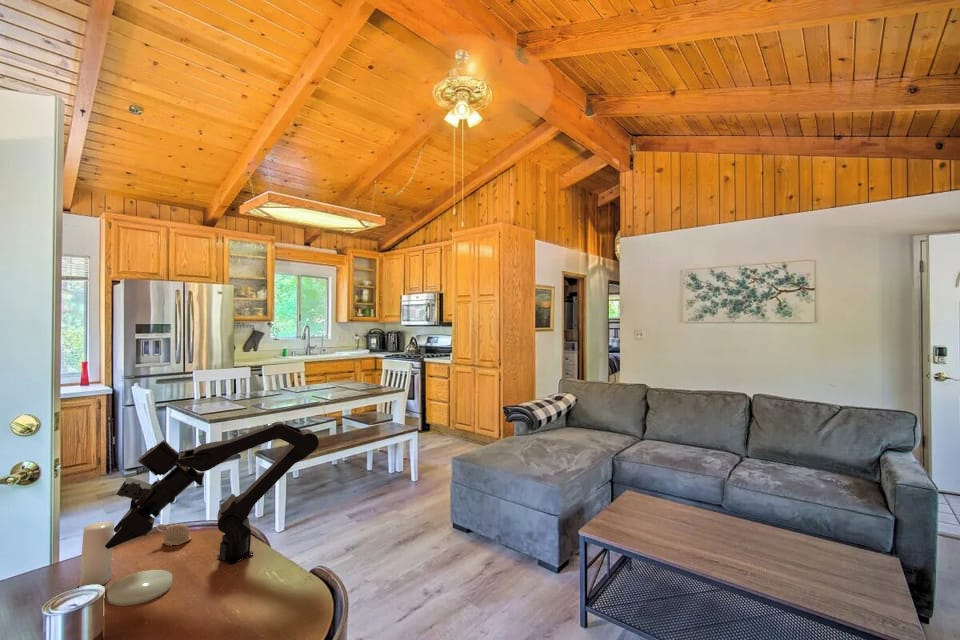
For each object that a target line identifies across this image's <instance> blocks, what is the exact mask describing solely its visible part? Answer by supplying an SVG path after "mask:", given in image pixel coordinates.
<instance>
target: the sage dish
mask: <svg viewBox="0 0 960 640" xmlns="http://www.w3.org/2000/svg"><path fill="white" fill-rule="evenodd" d="M172 585H173V574H172V572H171V571H167V570H165V569H148V570H143V571H138V572H134V573H131V574H128V575H126V576H124V577H121V578H119V579H118V580H116V581H115V582H113V583H112V584H111V585H109V587H108V588H107V590H106V591H107V592H106V601H107V602H108V604H111V605H113V606H117V607H119V606H121V607H124V606H125V607H126V606H133V605H138V604H143V603H146V602H149V601H152V600H154V599H157V598H158V597H161V596H162V595H163V594H165V593H166V592H167V591H169V589H171V587H172Z"/></svg>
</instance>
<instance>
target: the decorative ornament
mask: <svg viewBox="0 0 960 640" xmlns="http://www.w3.org/2000/svg"><path fill="white" fill-rule="evenodd" d="M159 527H163V528H165V530H162V529H160V528H159ZM155 530H157V532H159V533H161V534H163V541H162V543H163V544H164V545H166V546H169V545H170V547H172V545H177V546H180V545H182V544H185V543H186V542H189V541H191V540H192V539H193V537H191V536H190V529H189V527H188V526H187V525H185V524H183V523H175V525H173V524H170V525H169V526H168V525H167V524H160V523H159V524H158V525H156V527H155Z"/></svg>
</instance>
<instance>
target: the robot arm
mask: <svg viewBox="0 0 960 640" xmlns="http://www.w3.org/2000/svg"><path fill="white" fill-rule="evenodd" d="M277 439H278V440H281V441H284V442H285V443H287V444H288V445H287V447H286V449H284V450H285V451H284V452H283V453H282V454H281V455H280V456H279V457H278V458H277V460H275V461H274V462H273V463H272V464H271V465H270V466H269V467H268V468H267V469H266V470H265V471H263V473H262V474H261V475H260V476H259V477H258V478H257V479H255V481H254V482H253V483H252V484H250V485H249V487H248V488H246V490H244V492H242V493H241V494H239V495H237V496H236V495H235V494H234V493H231V495H230V496H228V498H227V500H225V501H224V502H223V503H221V504H220V505H219V507H220V509H219V510H218V511H217V515H216V516H217V528H218V531H220V532H221V533H222V534H223V535H222V536H221V537H222V538H221V542H220V544H219V553H218V555H217V556H216V558H217V557H218V558H217V559H219V558H220V559H219V560H221V559H222V560H221V561H223V560H224V562H225V561H226V562H225V563H227V562H228V564H229V563H231V564H230V565H233V564H235V563H234V562H236V561H238V560H240V559H242V558H244V557H247V556H249V555H251V554H253V553H255V552H253V551H252V550H251V542H252V541H251V540H252V528H251V525H250V518H249V515H250V513H251V512H252V510H253V508H254V506H256V504H257V503H258V502H259V501H260V499H262V498H263V496H265V495H266V494H267V493H268V491H270V489H272V487H274V485H275V484H276V483H277V482H278V481H280V480H281V478H282V477H283V476H284V475H285V474H287V473H288V472H289V470H290V469H291V468H292V467H293V466H294V465H295V464H296V463H299V462H300V461H303V460H304V459H306V458H307V457H308V456H310V455H312V453H314V452H315V451H316V450H317V449H318V448H319V438H318V437H317V435H316V434H315V433H314V432H313V431H312V430H311V429H309V428H303V429H299V428H298V427H295V426H292V425H289V424H286V423H284V422H282V421H278V420H277V421H275V422H272V424H269V425H267V426H264V427H260V428H259V429H255V430H252V431H250V432H247V433H244V434H241V435H239V436H236V437H232V438H231V439H226V440H219V441H212V442H207V443H203V444H199V445H198V446H196V447H195V448H193V449H187V450H183V451H177V450H176V449H174V447H172V446H171V445H170V444H169V443H168V441H166V440H164V439H163V440H162V441H160V442H159V443H157V444H156V445H154V446H152V447H150V448H149V449H148V450H147V451H145V453H143V454H142V456H140V457H139V458H138V459H137V462H138V463H139V464H140V465H142V466H143V468H146V469H147V470H148V471H149V472H150V473H152V474H153V475H154V476H158V475H159V476H164V477H162V479H161V480H155V481H154V482H152V484H151V483H149V482H146V481H143V480H140V479H136V478H134V477H131V476H130V477H129V476H128V477H127V476H126V477H125V480H124V481H123V483H122V484H121V486H120V487H119V489H118V491H117V493H116V495H117V496H119V497H122V498H124V497H125V498H128V499H131V500H130V504H129V505H130V507H129V509H128V511H127V512H126V513H125V514H124V515H123V517H122V518H121V519H120V520H119V521H118V523H117V524H115V526H114V536H113V537H112V538H111V539H110V540H109V541H108V543H107V544H106V545H105V547H106V548H107V549H110V548H112V547H113V548H114V547H117V546H119V545H122V544H124V543H126V542H129V541H132V540H134V539H136V538H139V537H146V536H147V535H148V534H149V533H150V532H151V531H153V528H154V524H155V518H157V517H159V515H160V514H161V511H163V510H164V508H166V507H167V506H168V505H169V504H173V503H174V502H175V501H176V498H177V497H178V496H179V495H180V494H182V493H183V492H184V491H185V490H186V489H187V488H188V487H190V486H191V484H193V483H194V482H195V483H196V484H197V485H199V486H200V487H201V486H202V485H203V483H204V482H203V481H204V476H205V472H207V471H209V470H212V469H213V468H215V467H217V466H219V465H221V464H222V463H224V462H225V461H226V460H228V459H229V458H231V457H232V456H235V455H237V454H240V453H242V452H246V451H248V450H250V449H253V448H256V447H259V446H261V445H263V444H266V443H268V442H272V441H274V440H277ZM154 517H155V518H154ZM253 555H254V554H253ZM251 556H252V555H251ZM249 557H250V556H249ZM247 558H248V557H247ZM242 560H243V559H242ZM240 561H241V560H240ZM238 562H239V561H238ZM232 563H233V564H232ZM236 563H237V562H236Z"/></svg>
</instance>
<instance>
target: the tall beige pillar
mask: <svg viewBox="0 0 960 640" xmlns="http://www.w3.org/2000/svg"><path fill="white" fill-rule="evenodd" d="M115 526H116V523H115V522H114V521H111V520H110V521H109V520H108V521H107V520H105V521H97V522H94V523H91V524H88V525H86V526H84V527H83V529H82V530H83V533H82V546H81V557H80V558H81V559H80V570H79V584H78V586H79V588H80V586H83V585H90V584H100V585H101V586H103V585H106V584H107V583H108V582H110V580H111V576H112V563H113V550H114V549H113V548H114V547H112V548H110V549H107V548H106V547H105V545H106V544H107V543H108V541H109V540H110V539H111V538H112V537H113V536H114V535H115V532H114V528H115Z"/></svg>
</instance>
